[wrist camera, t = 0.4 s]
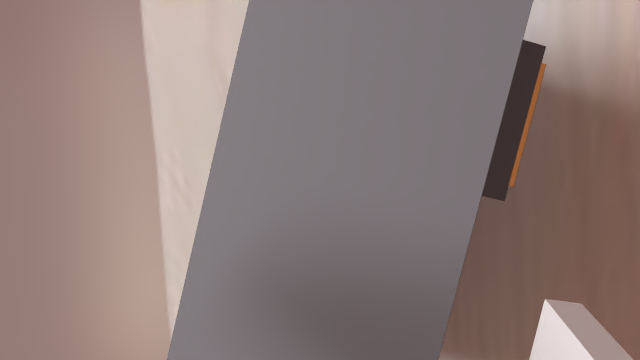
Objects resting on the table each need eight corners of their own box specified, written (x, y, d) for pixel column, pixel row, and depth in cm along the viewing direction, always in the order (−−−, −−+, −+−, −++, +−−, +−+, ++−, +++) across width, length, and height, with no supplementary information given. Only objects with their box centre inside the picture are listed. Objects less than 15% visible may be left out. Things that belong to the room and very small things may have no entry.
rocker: (417, 60, 31) (496, 32, 21) (457, 71, 31) (552, 48, 21) (390, 167, 31) (455, 189, 22) (429, 177, 32) (511, 202, 22)
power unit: (328, 28, 38) (279, -132, 17) (445, 55, 38) (552, -74, 16) (260, 310, 40) (133, 506, 18) (372, 340, 39) (380, 578, 18)
